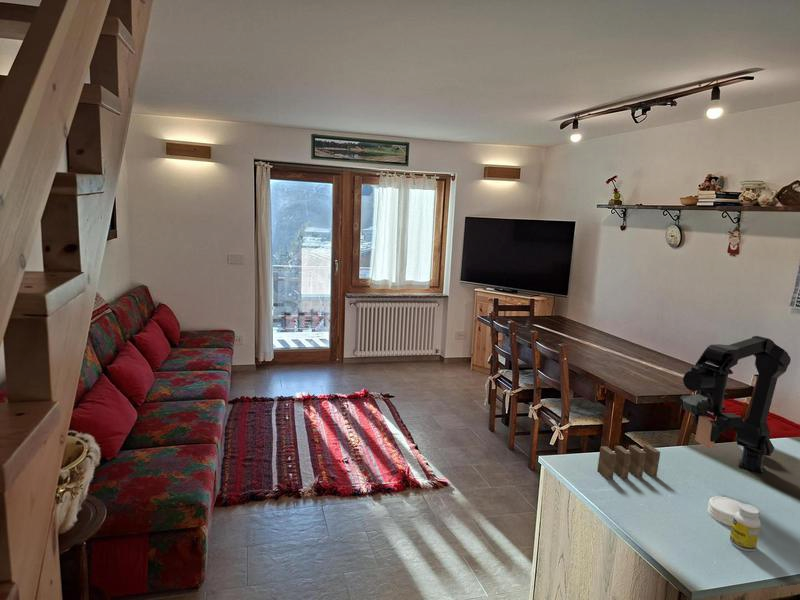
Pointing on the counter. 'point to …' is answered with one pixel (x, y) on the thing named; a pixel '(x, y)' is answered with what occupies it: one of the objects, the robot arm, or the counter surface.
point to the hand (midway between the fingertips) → (705, 437)
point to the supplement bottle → (745, 528)
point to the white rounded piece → (723, 509)
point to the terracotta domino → (704, 432)
